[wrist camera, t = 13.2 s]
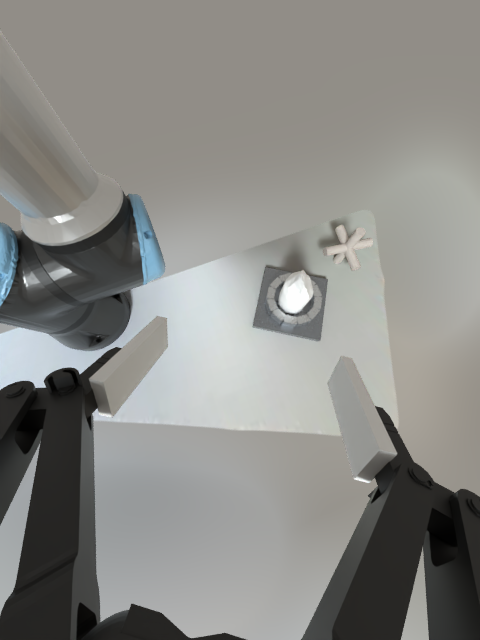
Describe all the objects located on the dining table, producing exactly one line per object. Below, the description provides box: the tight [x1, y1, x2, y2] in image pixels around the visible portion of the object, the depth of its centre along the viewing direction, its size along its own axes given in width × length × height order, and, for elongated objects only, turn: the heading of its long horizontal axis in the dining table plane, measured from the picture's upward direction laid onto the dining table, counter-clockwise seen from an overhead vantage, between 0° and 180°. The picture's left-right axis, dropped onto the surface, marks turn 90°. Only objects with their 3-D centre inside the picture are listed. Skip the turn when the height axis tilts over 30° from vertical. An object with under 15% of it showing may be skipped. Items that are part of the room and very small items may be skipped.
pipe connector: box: [323, 225, 373, 271], centre depth 44 cm, size 10×10×10 cm
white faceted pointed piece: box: [278, 270, 313, 315], centre depth 39 cm, size 6×12×6 cm
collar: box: [253, 267, 328, 341], centre depth 44 cm, size 14×14×4 cm
